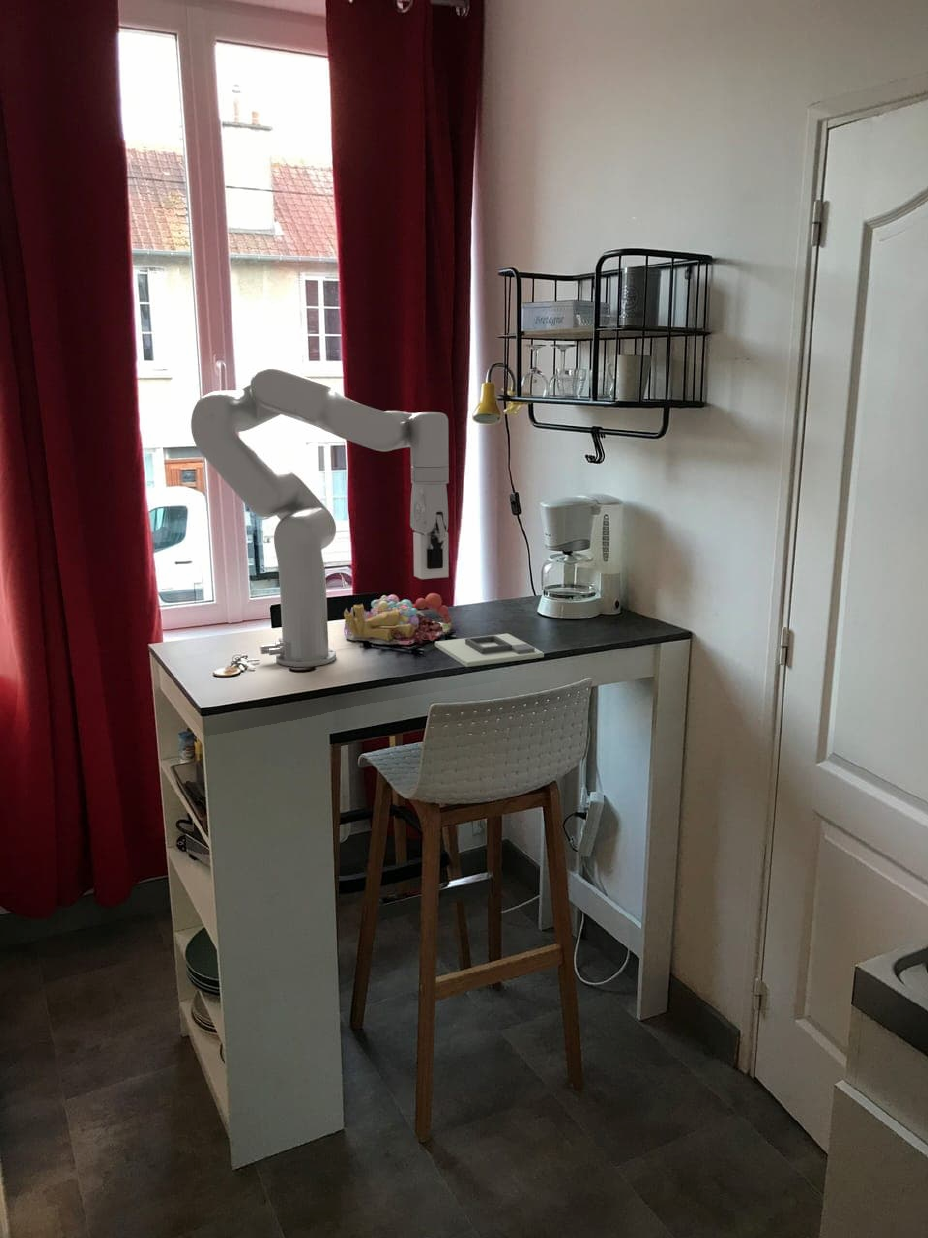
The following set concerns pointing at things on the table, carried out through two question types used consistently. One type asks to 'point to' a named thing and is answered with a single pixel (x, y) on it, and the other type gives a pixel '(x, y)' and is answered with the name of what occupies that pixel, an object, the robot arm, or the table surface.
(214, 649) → the table surface
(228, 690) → the table surface
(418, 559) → the plug
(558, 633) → the table surface
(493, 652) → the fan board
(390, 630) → the candy landscape model
